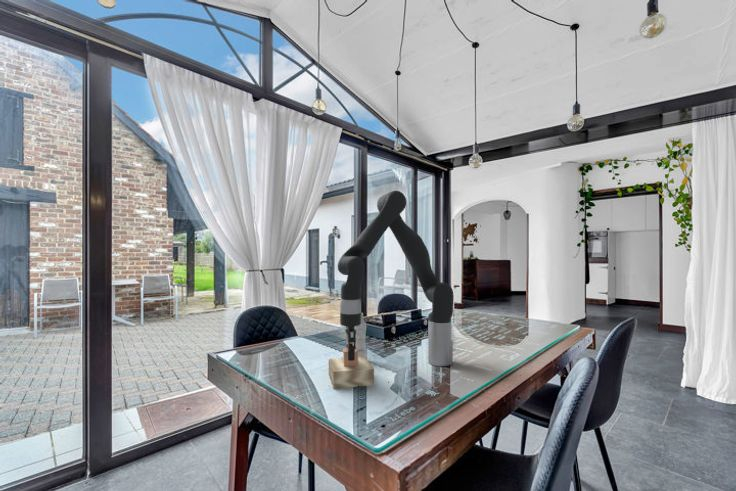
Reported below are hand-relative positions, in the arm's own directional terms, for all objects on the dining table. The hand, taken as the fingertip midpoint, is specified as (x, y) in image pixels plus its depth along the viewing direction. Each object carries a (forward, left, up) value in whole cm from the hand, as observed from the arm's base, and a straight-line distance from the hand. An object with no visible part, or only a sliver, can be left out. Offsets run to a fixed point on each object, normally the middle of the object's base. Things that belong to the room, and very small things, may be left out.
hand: (350, 356), depth 123 cm
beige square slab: (0, 0, -8) cm, 8 cm away
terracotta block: (0, 0, -2) cm, 2 cm away
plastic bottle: (-5, -20, -8) cm, 22 cm away
